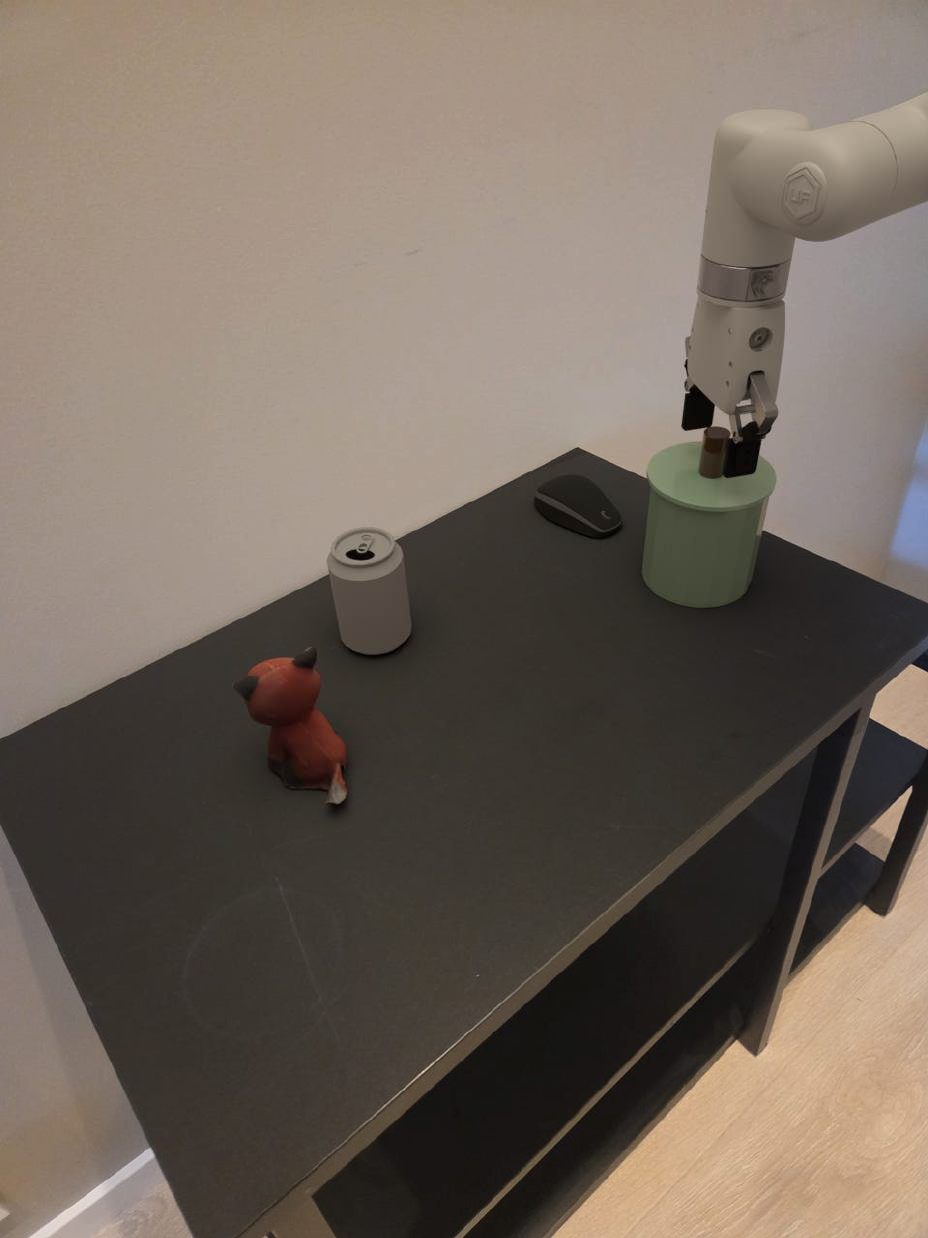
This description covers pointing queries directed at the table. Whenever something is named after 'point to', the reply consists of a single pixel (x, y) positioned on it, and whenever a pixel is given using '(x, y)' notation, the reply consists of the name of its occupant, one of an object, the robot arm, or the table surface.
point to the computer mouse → (578, 506)
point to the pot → (700, 552)
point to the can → (369, 590)
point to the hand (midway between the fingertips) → (716, 450)
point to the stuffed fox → (295, 724)
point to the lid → (707, 476)
